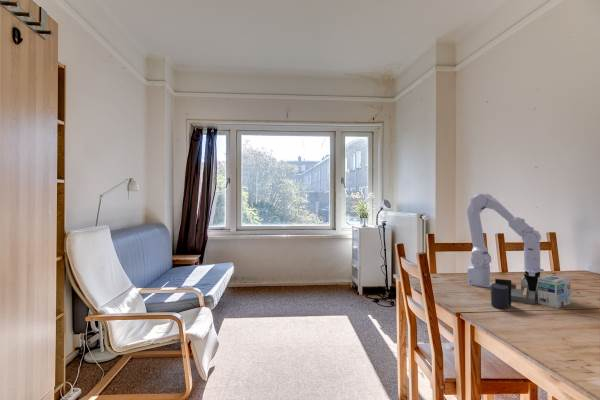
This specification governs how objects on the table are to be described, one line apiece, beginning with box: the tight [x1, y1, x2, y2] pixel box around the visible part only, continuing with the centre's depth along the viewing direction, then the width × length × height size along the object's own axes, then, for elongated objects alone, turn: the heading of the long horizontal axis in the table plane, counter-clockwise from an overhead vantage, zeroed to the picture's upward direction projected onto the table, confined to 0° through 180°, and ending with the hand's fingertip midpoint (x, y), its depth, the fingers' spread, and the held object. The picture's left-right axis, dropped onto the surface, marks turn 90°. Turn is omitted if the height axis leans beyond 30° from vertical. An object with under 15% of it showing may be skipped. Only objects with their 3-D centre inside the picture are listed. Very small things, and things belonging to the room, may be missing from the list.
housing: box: [520, 276, 538, 295], centre depth 139 cm, size 8×5×6 cm, turn 53°
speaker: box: [490, 278, 512, 310], centre depth 124 cm, size 8×6×10 cm
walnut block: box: [511, 281, 517, 289], centre depth 144 cm, size 4×4×3 cm
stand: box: [511, 288, 536, 305], centre depth 134 cm, size 14×12×4 cm
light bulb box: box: [537, 274, 572, 309], centre depth 125 cm, size 11×7×11 cm, turn 118°
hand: (532, 289), depth 139 cm, fingers open, 5 cm apart
